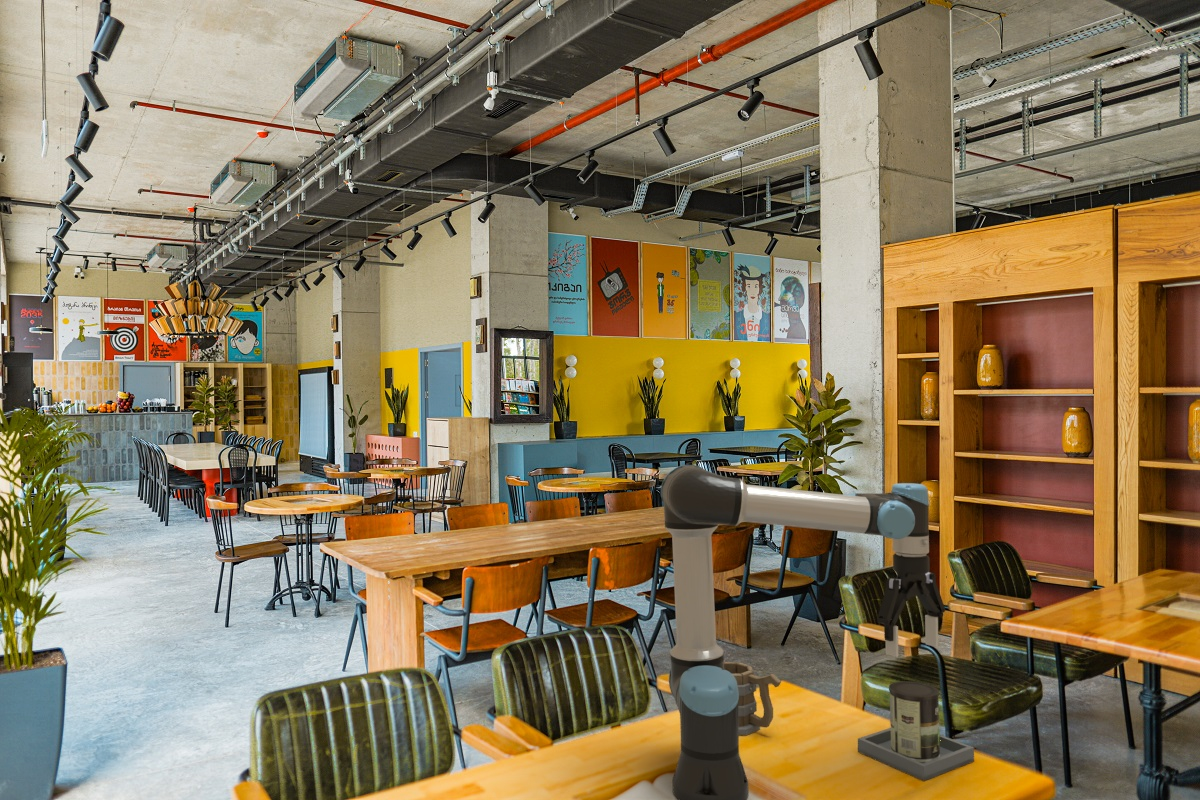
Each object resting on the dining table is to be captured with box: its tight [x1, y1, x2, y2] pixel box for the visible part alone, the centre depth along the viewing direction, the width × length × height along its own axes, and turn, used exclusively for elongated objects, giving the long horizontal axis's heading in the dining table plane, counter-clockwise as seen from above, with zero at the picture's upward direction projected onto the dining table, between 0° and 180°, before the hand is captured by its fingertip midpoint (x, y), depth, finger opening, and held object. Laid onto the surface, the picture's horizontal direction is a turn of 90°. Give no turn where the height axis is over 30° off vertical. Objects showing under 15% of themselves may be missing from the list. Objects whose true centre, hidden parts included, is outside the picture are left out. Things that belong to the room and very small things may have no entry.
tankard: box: [724, 661, 782, 736], centre depth 192 cm, size 20×13×15 cm, turn 42°
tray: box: [857, 727, 975, 782], centre depth 176 cm, size 17×17×3 cm
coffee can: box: [888, 680, 940, 762], centre depth 176 cm, size 10×10×14 cm
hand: (912, 650), depth 176 cm, fingers open, 13 cm apart
